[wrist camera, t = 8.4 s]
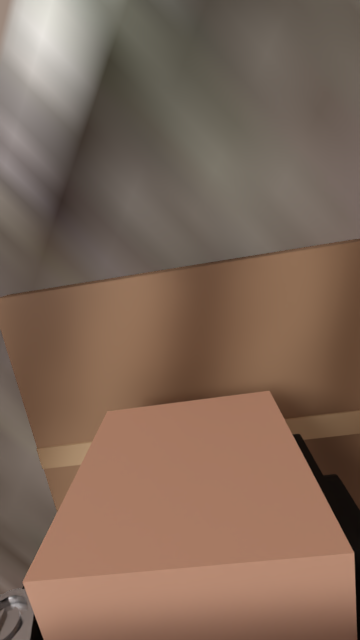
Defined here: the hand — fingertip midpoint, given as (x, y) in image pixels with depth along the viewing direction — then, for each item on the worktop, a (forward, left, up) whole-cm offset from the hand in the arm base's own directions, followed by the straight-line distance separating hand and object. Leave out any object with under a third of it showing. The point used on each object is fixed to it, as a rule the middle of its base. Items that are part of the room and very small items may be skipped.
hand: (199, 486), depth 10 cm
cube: (0, 0, -1) cm, 1 cm away
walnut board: (0, 0, -4) cm, 4 cm away
